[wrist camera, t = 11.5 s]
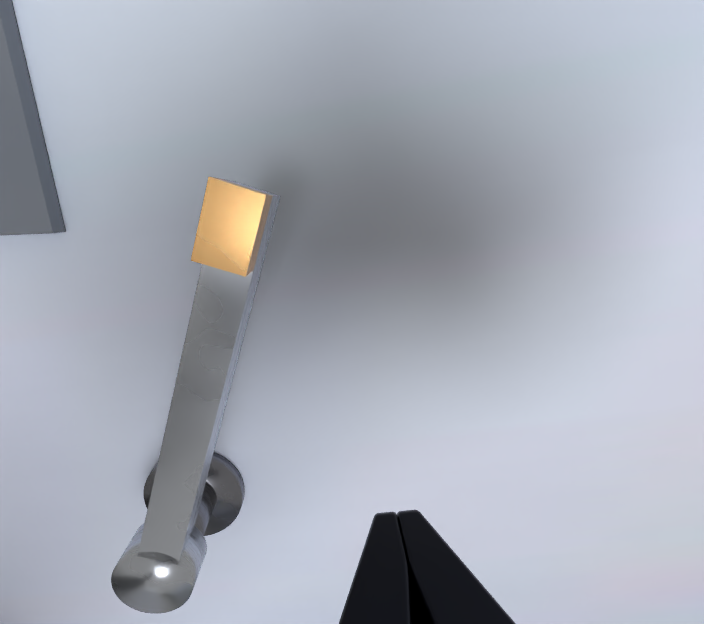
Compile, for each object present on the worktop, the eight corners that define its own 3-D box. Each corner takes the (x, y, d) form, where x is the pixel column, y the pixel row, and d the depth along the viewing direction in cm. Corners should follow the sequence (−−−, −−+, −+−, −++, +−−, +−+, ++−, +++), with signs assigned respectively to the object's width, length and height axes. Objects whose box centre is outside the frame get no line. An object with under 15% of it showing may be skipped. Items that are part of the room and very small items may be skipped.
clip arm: (198, 580, 18) (172, 651, 15) (127, 565, 18) (88, 636, 15) (302, 203, 14) (294, 204, 11) (212, 174, 14) (179, 167, 11)
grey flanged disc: (261, 504, 22) (249, 558, 18) (183, 541, 22) (157, 600, 19) (211, 433, 20) (187, 478, 17) (129, 473, 21) (91, 525, 18)
